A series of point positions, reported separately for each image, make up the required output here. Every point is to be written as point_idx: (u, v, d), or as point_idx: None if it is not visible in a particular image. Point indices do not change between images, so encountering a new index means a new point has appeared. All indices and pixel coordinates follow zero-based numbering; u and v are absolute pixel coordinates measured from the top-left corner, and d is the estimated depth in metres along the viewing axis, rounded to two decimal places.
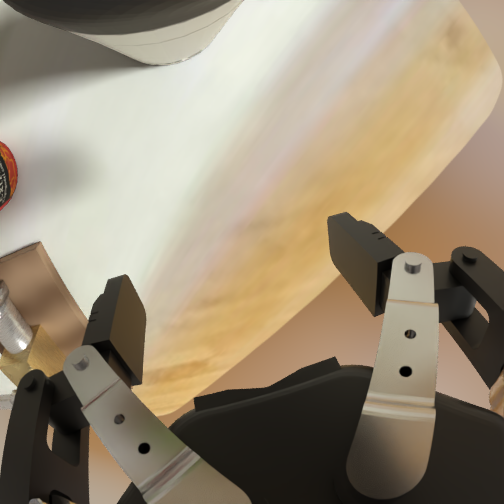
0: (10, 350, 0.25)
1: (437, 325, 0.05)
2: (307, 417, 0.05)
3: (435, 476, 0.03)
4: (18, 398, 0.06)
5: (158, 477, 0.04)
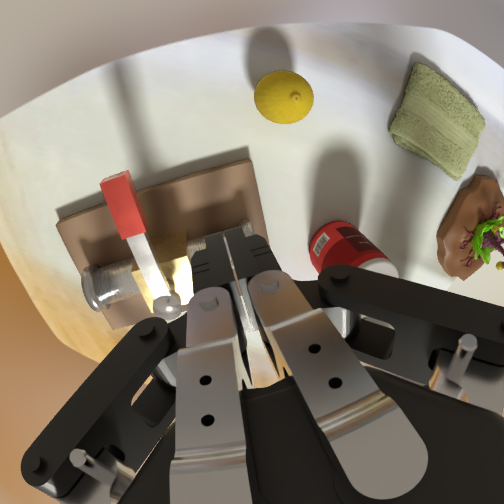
0: None
1: (334, 327, 0.06)
2: (307, 417, 0.05)
3: (435, 476, 0.03)
4: (126, 340, 0.07)
5: (198, 454, 0.04)
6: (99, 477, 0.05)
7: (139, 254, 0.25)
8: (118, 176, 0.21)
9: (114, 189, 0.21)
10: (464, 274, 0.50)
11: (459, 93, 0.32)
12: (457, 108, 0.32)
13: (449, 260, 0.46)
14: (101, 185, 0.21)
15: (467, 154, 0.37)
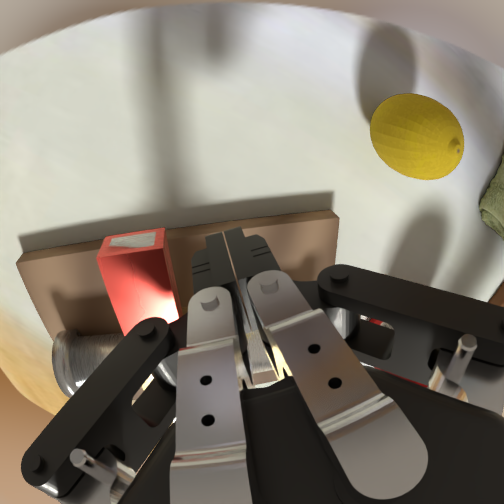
0: None
1: (334, 327, 0.06)
2: (307, 417, 0.05)
3: (435, 476, 0.03)
4: (127, 340, 0.07)
5: (198, 454, 0.04)
6: (99, 477, 0.05)
7: None
8: (144, 247, 0.09)
9: (131, 276, 0.09)
10: None
11: None
12: None
13: None
14: (100, 262, 0.09)
15: None
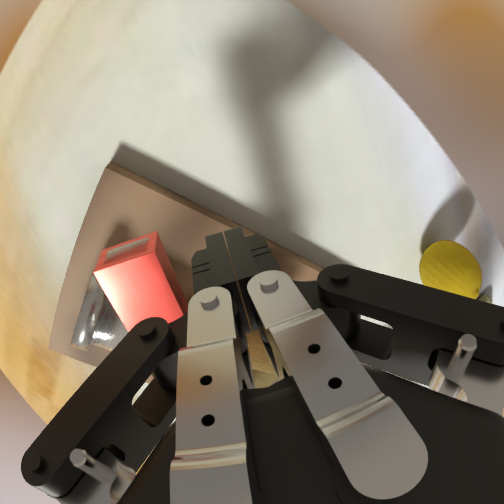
0: None
1: (334, 327, 0.06)
2: (307, 417, 0.05)
3: (435, 476, 0.03)
4: (127, 340, 0.07)
5: (198, 454, 0.04)
6: (99, 477, 0.05)
7: None
8: (137, 254, 0.09)
9: (130, 284, 0.09)
10: None
11: None
12: None
13: None
14: (98, 275, 0.09)
15: None
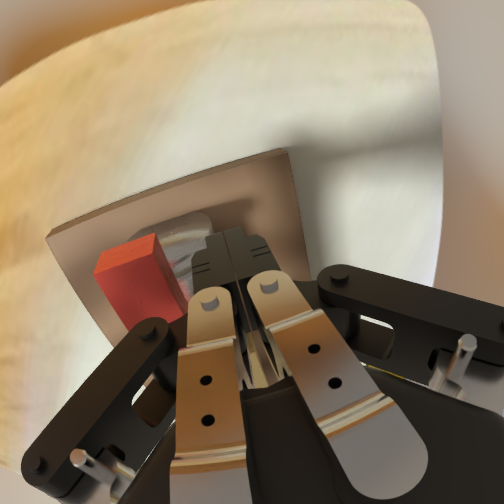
0: None
1: (334, 327, 0.06)
2: (307, 417, 0.05)
3: (435, 476, 0.03)
4: (127, 340, 0.07)
5: (198, 454, 0.04)
6: (99, 477, 0.05)
7: None
8: (136, 256, 0.09)
9: (129, 285, 0.10)
10: None
11: None
12: None
13: None
14: (98, 278, 0.09)
15: None
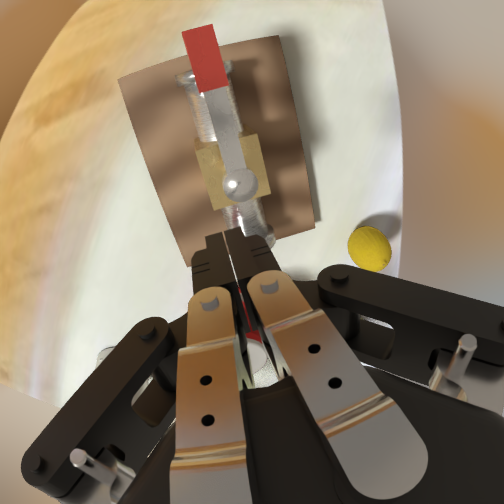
0: None
1: (334, 327, 0.06)
2: (307, 417, 0.05)
3: (435, 476, 0.03)
4: (127, 340, 0.07)
5: (198, 454, 0.04)
6: (99, 477, 0.05)
7: (216, 113, 0.21)
8: (203, 26, 0.17)
9: (198, 38, 0.17)
10: None
11: None
12: None
13: None
14: (183, 33, 0.17)
15: None
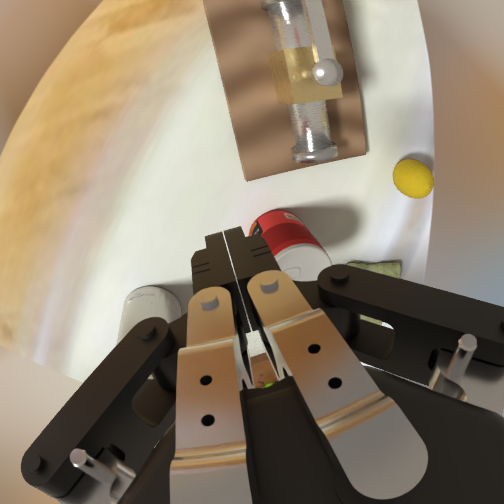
0: (316, 105, 0.30)
1: (334, 327, 0.06)
2: (307, 417, 0.05)
3: (435, 476, 0.03)
4: (127, 340, 0.07)
5: (198, 454, 0.04)
6: (99, 477, 0.05)
7: (313, 12, 0.21)
8: None
9: None
10: None
11: None
12: None
13: None
14: None
15: None
